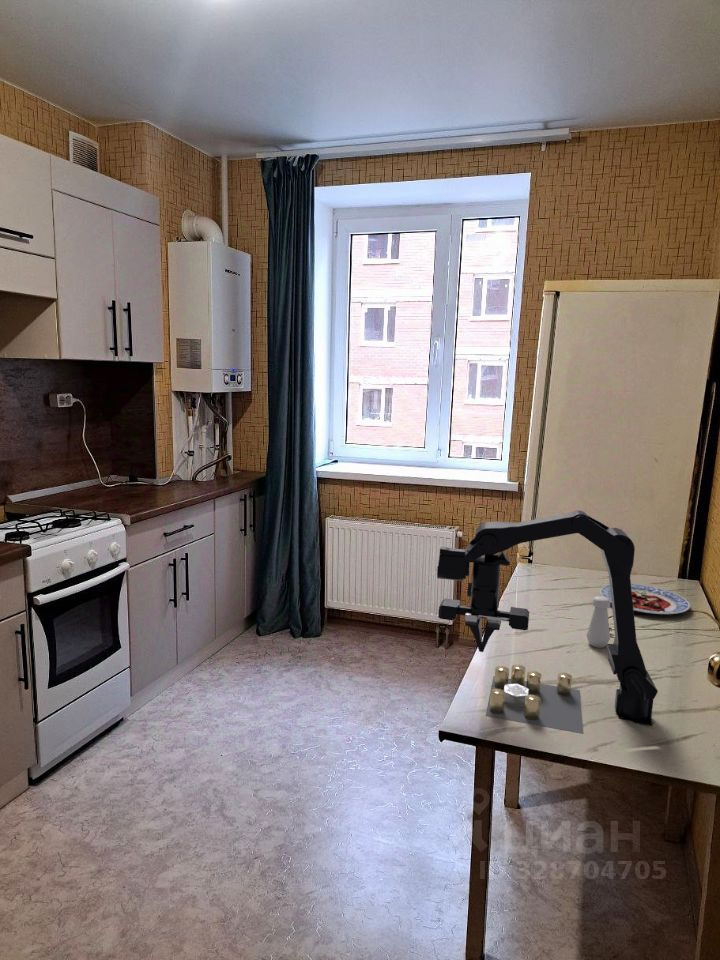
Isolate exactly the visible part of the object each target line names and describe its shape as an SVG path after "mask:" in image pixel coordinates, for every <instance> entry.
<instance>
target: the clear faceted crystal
mask: <svg viewBox="0 0 720 960" xmlns="http://www.w3.org/2000/svg"><path fill="white" fill-rule="evenodd" d="M504 692H505V703H508V704H510V705H512V706H514V707H519V706H525V697H526V695H528V688H526V687H523V686H521V685H519V684H508V685H505V688H504Z"/></svg>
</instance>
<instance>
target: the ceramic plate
mask: <svg viewBox="0 0 720 960" xmlns="http://www.w3.org/2000/svg"><path fill="white" fill-rule="evenodd" d="M631 590H632V600H633V610H634V612H639V613H645V614H654V615H675V614H677V615H678V614H682V613H685V612H687V611H689V609H690V608H691V604H690V602H689V601H688V600H687V599H686V598H684V597H682V595H681V596H680V595H679V594H678V593H674V592H672V591H669V590H665V589H663V588H659V587H655V586H650V585H645V584H644V585H642V584H636V583H635V584H634V583H631ZM599 592H600V596H602V597H606V598H608V599H609V600H610V604H612V601H611V592H610V584H607V585H606V586H603V587H602V588H601V589H600V591H599Z"/></svg>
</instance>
